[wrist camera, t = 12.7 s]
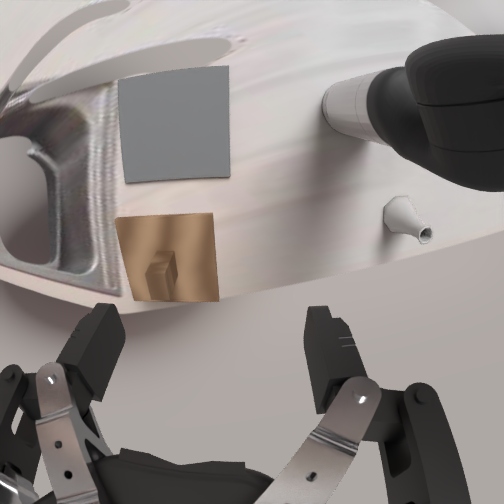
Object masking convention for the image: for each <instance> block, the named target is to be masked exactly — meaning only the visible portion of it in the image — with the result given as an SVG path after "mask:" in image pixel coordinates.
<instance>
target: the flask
mask: <svg viewBox="0 0 504 504" xmlns="http://www.w3.org/2000/svg"><path fill="white" fill-rule="evenodd" d="M384 222H385V224H386V225H387V227H388V228H389V230H390V231H391V232H398V233H404V234H409V235H412V236H414V237H416V238H417V239H418V240H419V242H420V243H421V244H427V243H428V242H429V241H430V240H431V239H432V238H433V230H432V228H431V226H430V225H428V226H427V225H426V224H424V223H423V221H422V220H421V219H420V217H419V216H418V213H417V211H416V209H415V207H414V205H413V204H412V202H411V200H410V199H409V197H408V196H400V197H395V198H393V199H392V200H391V201H390V202H389V203H388V204H387V205H386V206H385V207H384Z"/></svg>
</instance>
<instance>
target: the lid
mask: <svg viewBox="0 0 504 504" xmlns="http://www.w3.org/2000/svg"><path fill="white" fill-rule="evenodd" d="M115 225H116V230H117V235H118V239H119V244H120V248H121V253H122V257H123V261H124V265H125V269H126V273H127V277H128V280H129V284H130V287H131V291H132V295H133V298H134V301H166V302H218V301H219V288H218V276H217V264H216V250H215V236H214V221H213V213H192V214H169V215H150V216H133V217H118V218H116V219H115Z"/></svg>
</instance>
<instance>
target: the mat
mask: <svg viewBox="0 0 504 504" xmlns="http://www.w3.org/2000/svg"><path fill="white" fill-rule="evenodd" d="M118 102H119V124H120V138H121V150H122V160H123V170H124V178H125V183H130V182H141V181H153V180H166V179H182V178H202V177H230V135H229V66H212V67H199V68H188V69H180V70H172V71H164V72H158V73H152V74H146V75H140V76H135V77H130V78H126V79H121V80H118Z"/></svg>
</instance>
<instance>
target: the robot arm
mask: <svg viewBox="0 0 504 504" xmlns="http://www.w3.org/2000/svg"><path fill="white" fill-rule="evenodd" d="M322 107H323V113H324V116H325V118H326V120H327V122H328V123H329V124H330V126H331V127H332V128H334V129H335V130H336V131H338V132H340V133H343V134H346V135H350V136H353V137H357V138H361V139H365V140H369V141H372V142H376V143H379V144H383V145H386V146H390V147H392V148H393V149H394V150H395V151H396V152H397V153H398V154H399V155H400V156H402V157H403V158H405V159H407V160H409V161H411V162H413V163H415V164H417V165H419V166H421V167H423V168H425V169H427V170H429V171H430V172H432V173H434V174H436V175H438V176H440V177H442V178H444V179H446V180H448V181H450V182H453V183H455V184H458V185H460V186H463V187H467V188H471V189H475V190H479V191H486V192H504V34H502V35H501V34H500V35H475V36H464V37H456V38H449V39H444V40H440V41H436V42H432V43H429V44H427V45H424V46H422V47H420V48H418V49H417V50H415V51H413V52H412V53H411V54H410V55H409V56H408V58H407V60H406V62H405V67H395V68H391V69H386V70H382V71H378V72H374V73H370V74H366V75H362V76H359V77H355V78H352V79H348V80H344V81H341V82H338V83H336V84H334V85H332V86H331V87H330V88H329V89H328V90H327V91H326V93H325V95H324V98H323V103H322ZM124 343H125V330H124V327H123V324H122V322H121V319H120V316H119V313H118V311H117V308H116V306H115V305H114V304H107V303H97V304H96V305H95V307H94V309H93V310H92V312H91V313H90V314H87V315H86V316H85V317H84V318H82V319H81V320H80V321H79V323H78V325H77V326H76V328H75V331H73V333H72V334H71V338H69V339H68V341H67V343H66V344H65V346H64V348H63V350H62V351H61V354H60V355H59V357H58V358H57V360H56V362H50V363H47V364H45V365H43V366H42V367H41V368H40V369H39V370H38V372H37V373H28V374H27V373H26V374H25V373H24V372H23V371H22V369H21V368H20V367H19V366H18V365H15V364H12V365H9V366H7V367H6V368H4V369H3V370H2V372H1V373H0V504H326V502H327V501H328V499H329V498H330V496H331V495H332V493H333V492H334V490H335V489H336V487H337V486H338V484H339V482H340V481H341V479H342V478H343V476H344V474H345V473H346V471H347V469H348V468H349V466H350V464H351V462H352V461H353V459H354V457H355V455H356V453H357V450H358V449H357V448H358V446H359V443H360V441H361V440H363V441H373V442H378V445H379V450H380V455H381V460H382V465H383V471H384V477H385V483H386V488H387V496H388V503H389V504H471V500H470V495H469V491H468V486H467V482H466V478H465V475H464V471H463V467H462V464H461V461H460V457H459V453H458V450H457V447H456V444H455V441H454V438H453V435H452V432H451V429H450V426H449V423H448V421H447V418H446V415H445V412H444V410H443V407H442V405H441V402H440V400H439V397H438V395H437V393H436V391H435V390H434V389H433V388H432V387H431V386H429V385H428V384H425V383H414V384H412V385H410V386H409V387H408V388H407V389H406V390H405V391H397V390H387V389H383V388H380V387H379V385H378V384H377V383H376V382H375V381H373V380H372V379H370V378H368V376H367V374H366V371H365V368H364V365H363V363H362V360H361V357H360V355H359V352H358V349H357V347H356V346H355V341H354V339H353V338H352V334H351V331H350V329H349V326H348V325H347V324H346V323H345V322H344V321H343V320H342V319H341V318H332V316H331V313H330V310H329V308H328V306H309V307H308V311H307V317H306V324H305V330H304V350H305V355H306V359H307V365H308V370H309V375H310V380H311V386H312V391H313V396H314V402H315V407H316V413H317V414H325V415H324V417H323V418H322V420H321V421H320V423H319V424H318V426H317V427H316V428H315V430H313V431H312V432H311V433H310V435H309V436H308V437H307V439H306V440H305V441H304V443H303V444H302V446H301V447H300V448H299V450H298V451H297V452H296V454H295V455H294V456H293V458H292V459H291V460H290V462H289V463H288V464H287V466H286V467H285V468H284V469H283V470H282V472H281V473H280V474H279V475H278V477H277V478H276V479H275V480H274V479H273V478H271V477H269V476H268V475H265V474H263V473H261V472H258V471H255V470H251V469H247V468H245V462H221V461H210V462H202V463H195V464H187V465H176V464H173V463H171V462H168V461H166V460H163V459H161V458H158V457H156V456H153V455H151V454H149V453H144V452H139V451H133V450H129V449H124V448H121V450H120V454H117V455H113V453H112V452H111V450H110V449H109V447H108V446H107V444H106V443H105V441H104V438H103V436H102V433H101V431H100V429H99V426H98V423H97V421H96V418H95V416H94V413H93V410H92V408H91V406H90V403H91V400H95V401H99V402H102V399H103V396H104V394H105V391H106V388H107V386H108V383H109V380H110V378H111V375H112V373H113V370H114V368H115V365H116V363H117V360H118V358H119V355H120V353H121V351H122V348H123V346H124ZM18 407H20V409H21V410H22V411H23V415H22V417H21V420H20V423H19V426H18V428H17V431H16V434H15V435H14V434H13V432H12V429H11V425H12V421H13V419H14V416H15V414H16V411H17V409H18ZM41 452H42V456H43V459H44V463H45V466H46V470H47V473H48V476H49V479H50V482H51V485H52V488H53V491H52V492H50V493H48V494H47V495H45V496H44V497H42V498H40V499H39V496H38V494H37V493H36V492H35V491H34V487H33V484H34V479H35V475H36V471H37V467H38V463H39V460H40V456H41Z"/></svg>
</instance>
